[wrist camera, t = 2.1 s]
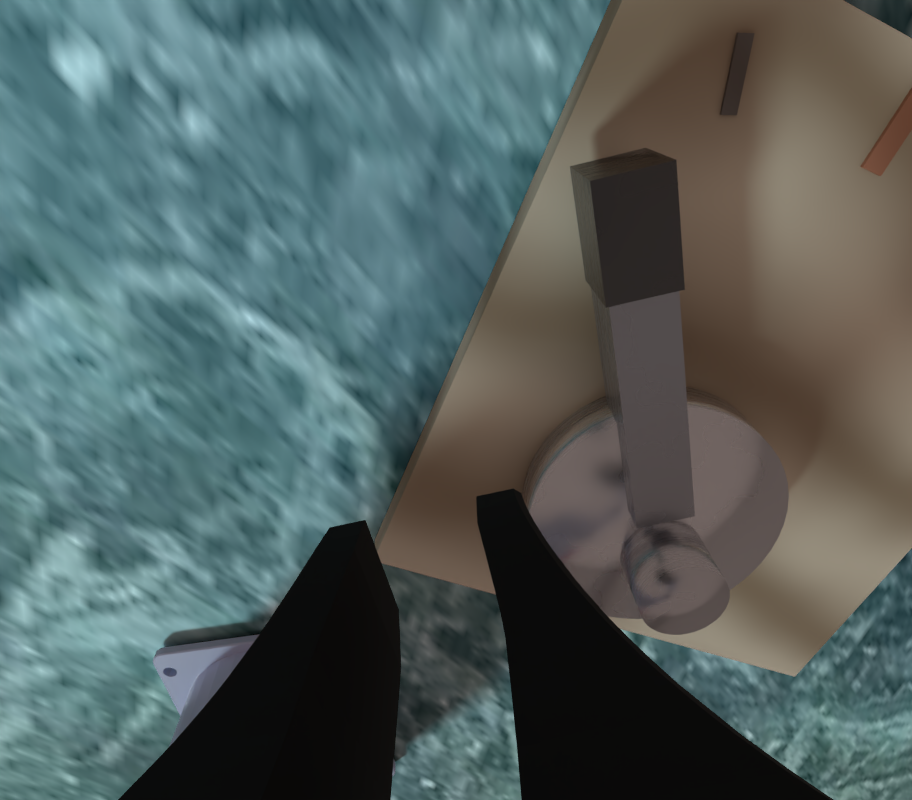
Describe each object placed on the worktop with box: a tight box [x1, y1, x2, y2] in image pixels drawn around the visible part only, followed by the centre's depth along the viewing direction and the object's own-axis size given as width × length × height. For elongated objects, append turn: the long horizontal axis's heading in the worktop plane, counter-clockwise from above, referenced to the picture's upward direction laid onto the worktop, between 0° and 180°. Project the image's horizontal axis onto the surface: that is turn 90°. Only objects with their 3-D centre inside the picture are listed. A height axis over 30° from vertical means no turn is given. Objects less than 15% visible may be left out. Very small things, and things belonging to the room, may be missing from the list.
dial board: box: [375, 0, 912, 677], centre depth 21 cm, size 20×18×1 cm
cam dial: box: [522, 148, 789, 635], centre depth 18 cm, size 15×8×4 cm, turn 13°
